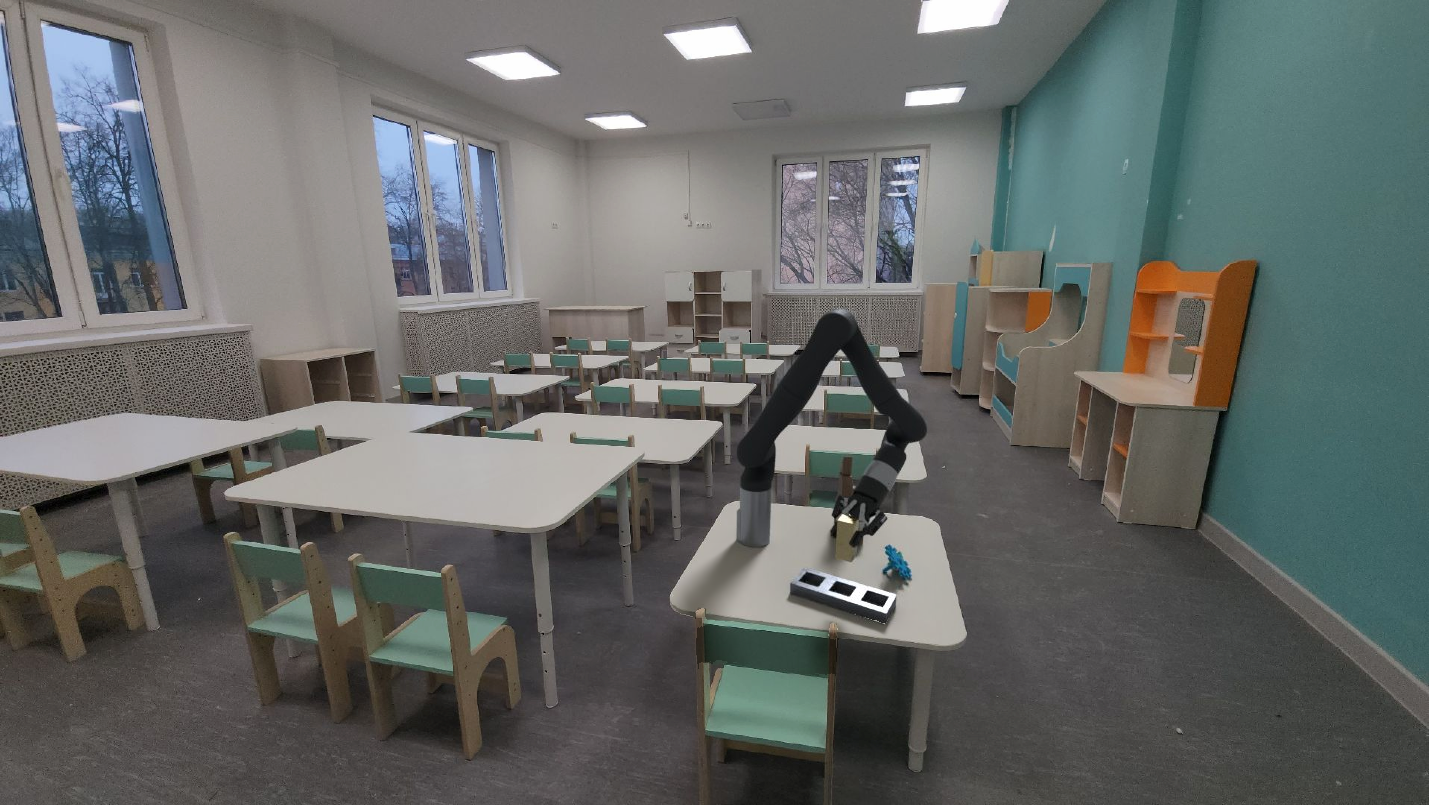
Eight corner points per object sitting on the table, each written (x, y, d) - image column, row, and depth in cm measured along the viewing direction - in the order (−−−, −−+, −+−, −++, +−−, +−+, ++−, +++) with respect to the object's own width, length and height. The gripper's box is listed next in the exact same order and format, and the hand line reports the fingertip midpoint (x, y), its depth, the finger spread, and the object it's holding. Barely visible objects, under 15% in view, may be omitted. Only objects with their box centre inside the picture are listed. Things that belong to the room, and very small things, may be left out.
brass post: (835, 558, 139) (837, 520, 137) (840, 551, 143) (843, 514, 140) (851, 562, 137) (853, 523, 135) (856, 555, 141) (859, 517, 138)
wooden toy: (864, 545, 170) (870, 465, 164) (841, 544, 170) (846, 464, 165) (853, 522, 185) (858, 448, 179) (832, 521, 185) (837, 447, 180)
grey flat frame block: (789, 593, 145) (790, 582, 144) (804, 577, 152) (804, 567, 152) (885, 624, 133) (886, 613, 132) (895, 605, 140) (896, 594, 139)
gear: (911, 582, 147) (885, 549, 150) (893, 593, 150) (868, 561, 152) (916, 567, 157) (892, 537, 160) (898, 578, 160) (875, 548, 162)
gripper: (846, 467, 145) (812, 524, 141) (895, 483, 135) (860, 546, 130) (858, 482, 150) (825, 537, 145) (906, 499, 139) (873, 560, 135)
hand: (842, 541), depth 138 cm, fingers closed on brass post, 5 cm apart
